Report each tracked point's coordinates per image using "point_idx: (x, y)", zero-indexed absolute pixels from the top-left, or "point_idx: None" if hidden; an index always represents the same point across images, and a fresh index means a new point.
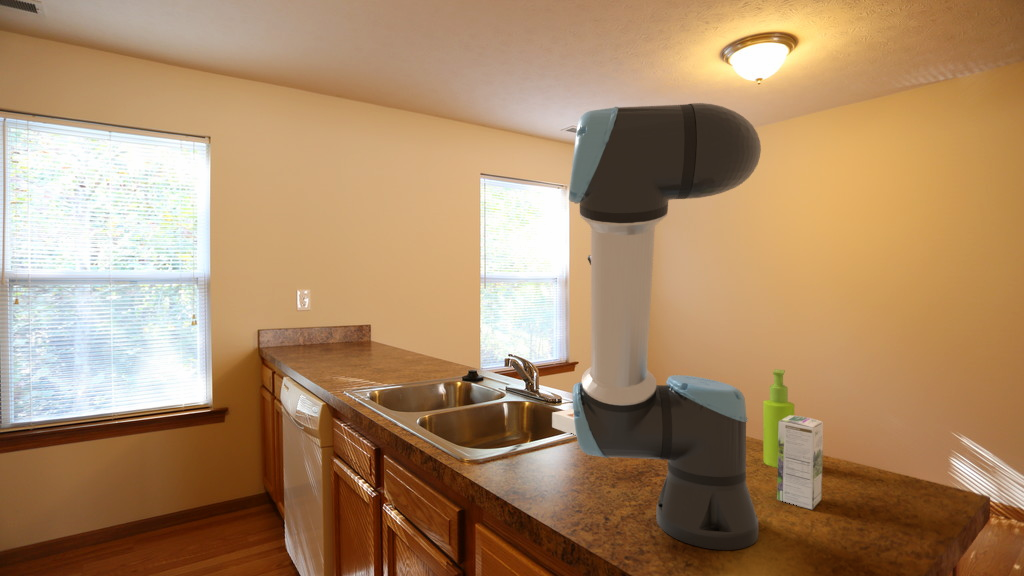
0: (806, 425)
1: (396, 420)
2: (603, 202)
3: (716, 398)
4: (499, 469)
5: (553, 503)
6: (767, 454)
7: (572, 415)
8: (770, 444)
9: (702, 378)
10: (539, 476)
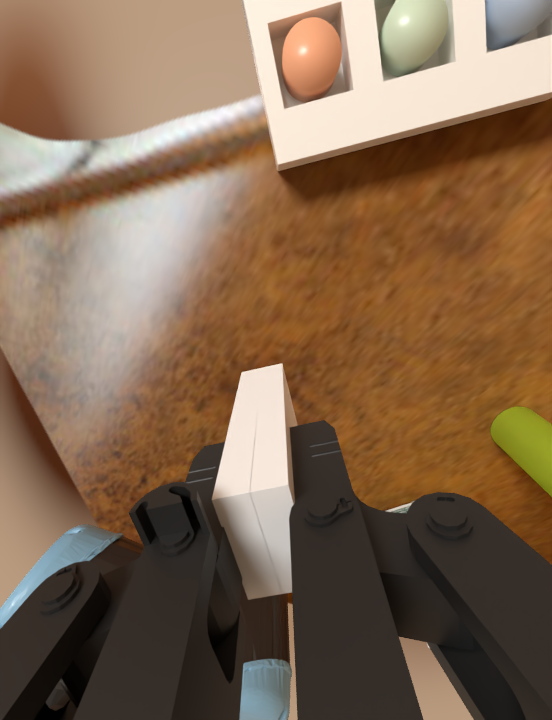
0: (426, 642)
1: None
2: None
3: None
4: (30, 274)
5: (90, 425)
6: (501, 434)
7: (294, 18)
8: (512, 451)
9: (247, 718)
10: (97, 332)
